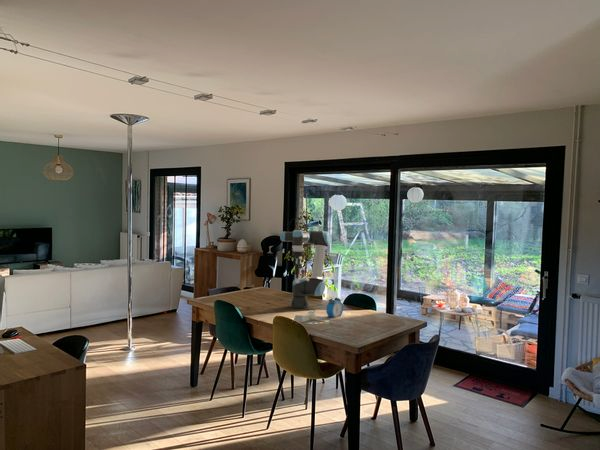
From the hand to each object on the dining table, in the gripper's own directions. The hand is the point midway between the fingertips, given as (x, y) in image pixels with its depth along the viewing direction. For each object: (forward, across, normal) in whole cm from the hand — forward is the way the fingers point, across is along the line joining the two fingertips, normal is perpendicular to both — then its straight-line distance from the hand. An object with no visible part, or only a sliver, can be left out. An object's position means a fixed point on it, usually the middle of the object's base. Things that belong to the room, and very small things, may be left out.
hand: (297, 282), depth 345 cm
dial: (+25, +16, +14) cm, 33 cm away
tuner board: (+26, +11, +12) cm, 31 cm away
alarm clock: (+27, -4, +28) cm, 39 cm away
